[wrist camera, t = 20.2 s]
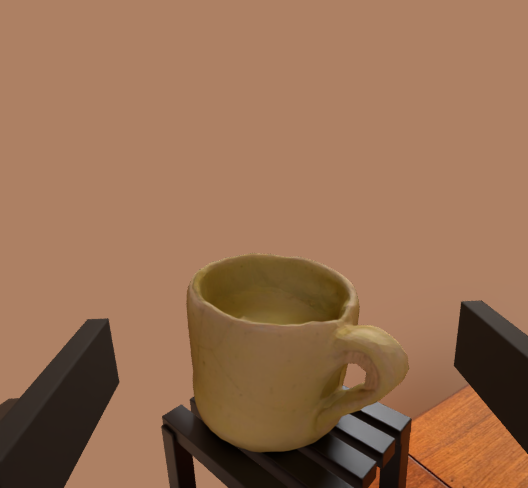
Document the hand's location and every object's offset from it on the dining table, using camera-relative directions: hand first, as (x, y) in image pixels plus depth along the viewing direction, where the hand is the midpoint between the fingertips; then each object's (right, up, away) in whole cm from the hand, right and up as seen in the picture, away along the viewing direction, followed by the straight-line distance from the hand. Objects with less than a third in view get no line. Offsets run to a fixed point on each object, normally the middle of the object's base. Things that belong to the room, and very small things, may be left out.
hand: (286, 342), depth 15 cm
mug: (+1, -6, +8) cm, 10 cm away
